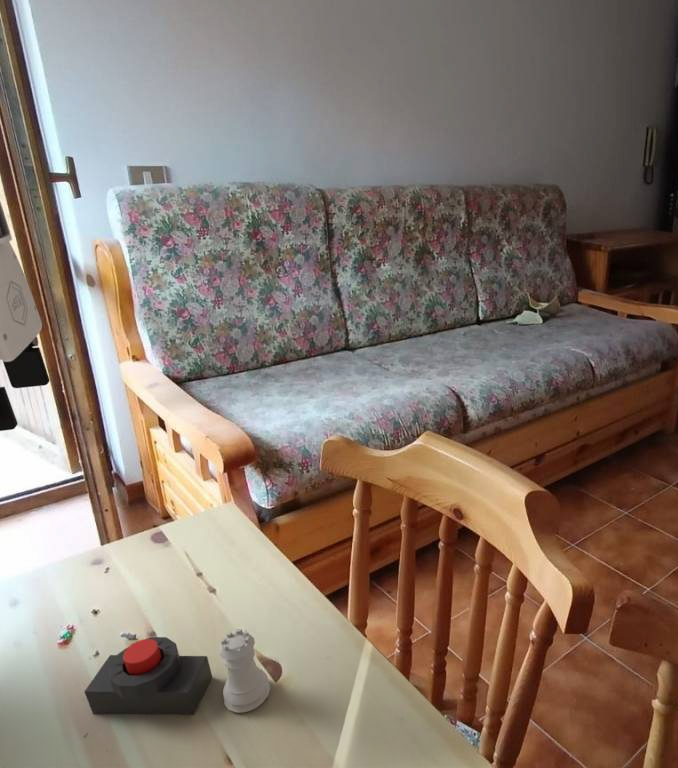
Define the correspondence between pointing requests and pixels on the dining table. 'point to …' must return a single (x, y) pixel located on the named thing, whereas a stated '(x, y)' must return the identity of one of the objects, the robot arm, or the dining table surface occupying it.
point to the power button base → (151, 684)
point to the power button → (142, 657)
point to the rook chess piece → (242, 673)
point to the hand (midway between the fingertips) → (15, 406)
